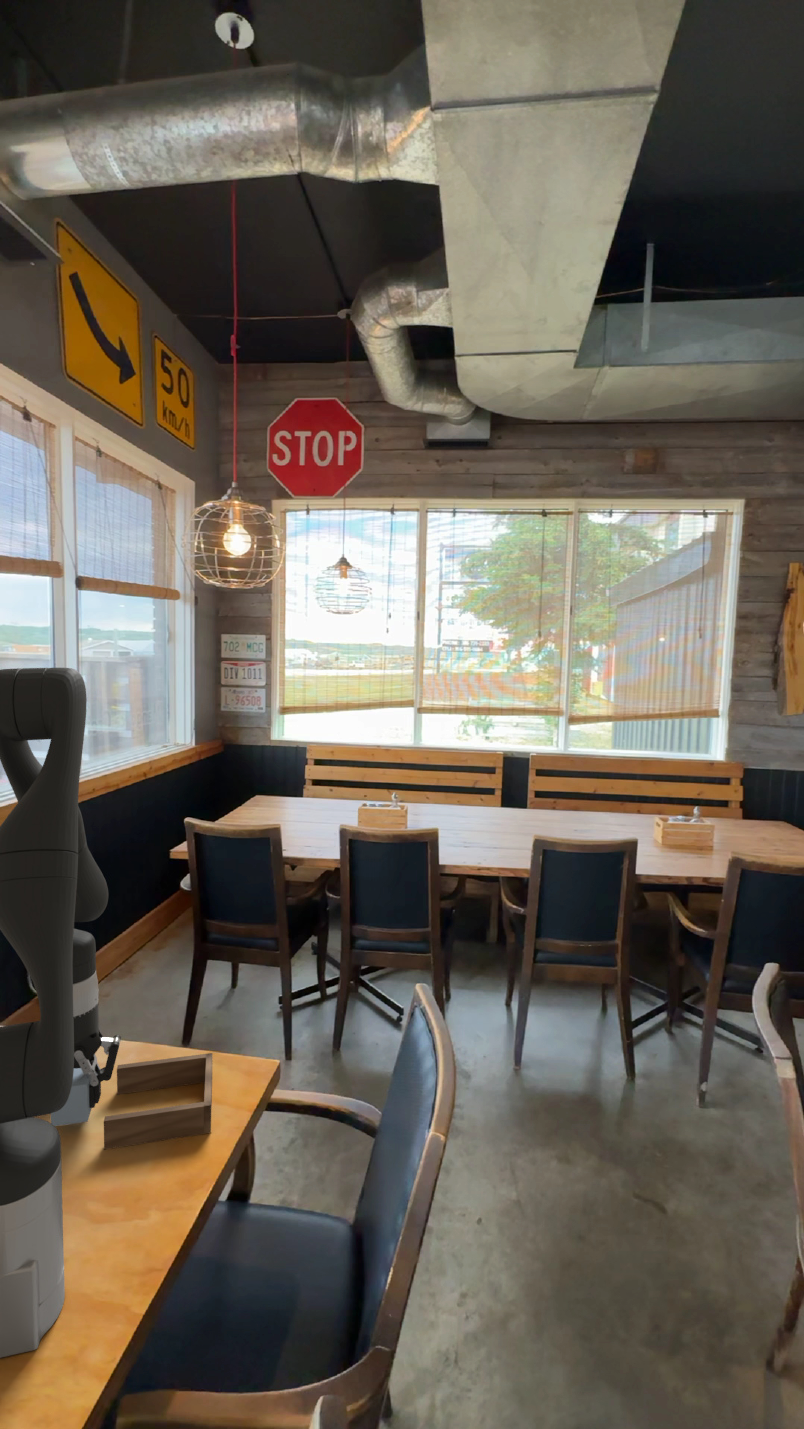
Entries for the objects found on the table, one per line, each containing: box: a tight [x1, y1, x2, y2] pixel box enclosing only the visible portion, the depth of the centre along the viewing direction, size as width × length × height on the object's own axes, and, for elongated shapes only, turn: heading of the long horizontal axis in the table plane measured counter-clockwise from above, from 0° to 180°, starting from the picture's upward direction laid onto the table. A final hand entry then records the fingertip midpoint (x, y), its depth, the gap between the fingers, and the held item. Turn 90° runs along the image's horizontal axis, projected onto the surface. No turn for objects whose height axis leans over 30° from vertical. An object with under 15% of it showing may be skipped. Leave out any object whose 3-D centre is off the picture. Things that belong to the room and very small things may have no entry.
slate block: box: [50, 1068, 93, 1127], centre depth 100 cm, size 5×5×6 cm
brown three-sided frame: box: [103, 1052, 213, 1150], centre depth 103 cm, size 13×15×4 cm
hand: (73, 1106), depth 100 cm, fingers closed on slate block, 5 cm apart
